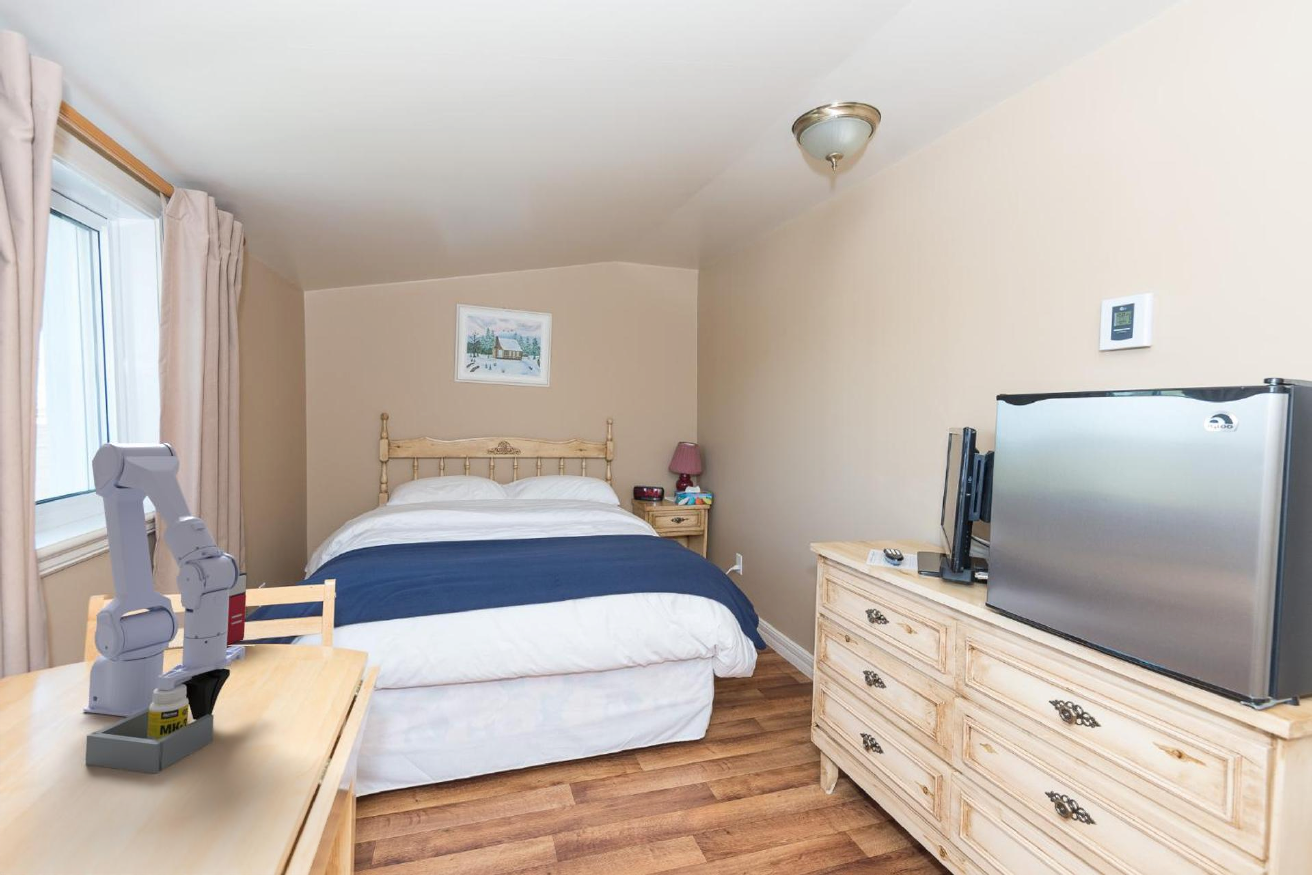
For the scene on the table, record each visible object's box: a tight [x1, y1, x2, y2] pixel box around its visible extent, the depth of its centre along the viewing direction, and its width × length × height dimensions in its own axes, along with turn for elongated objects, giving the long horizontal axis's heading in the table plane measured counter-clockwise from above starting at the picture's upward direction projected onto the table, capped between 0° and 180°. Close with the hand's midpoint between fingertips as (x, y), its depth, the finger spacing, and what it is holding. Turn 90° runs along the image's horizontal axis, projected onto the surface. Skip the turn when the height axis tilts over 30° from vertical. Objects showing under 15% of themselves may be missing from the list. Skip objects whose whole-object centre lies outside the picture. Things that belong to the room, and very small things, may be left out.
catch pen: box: [85, 708, 215, 775], centre depth 93 cm, size 11×10×4 cm
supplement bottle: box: [146, 684, 190, 740], centre depth 95 cm, size 5×5×8 cm
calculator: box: [227, 571, 247, 647], centre depth 136 cm, size 11×4×15 cm, turn 168°
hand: (201, 718), depth 102 cm, fingers closed
